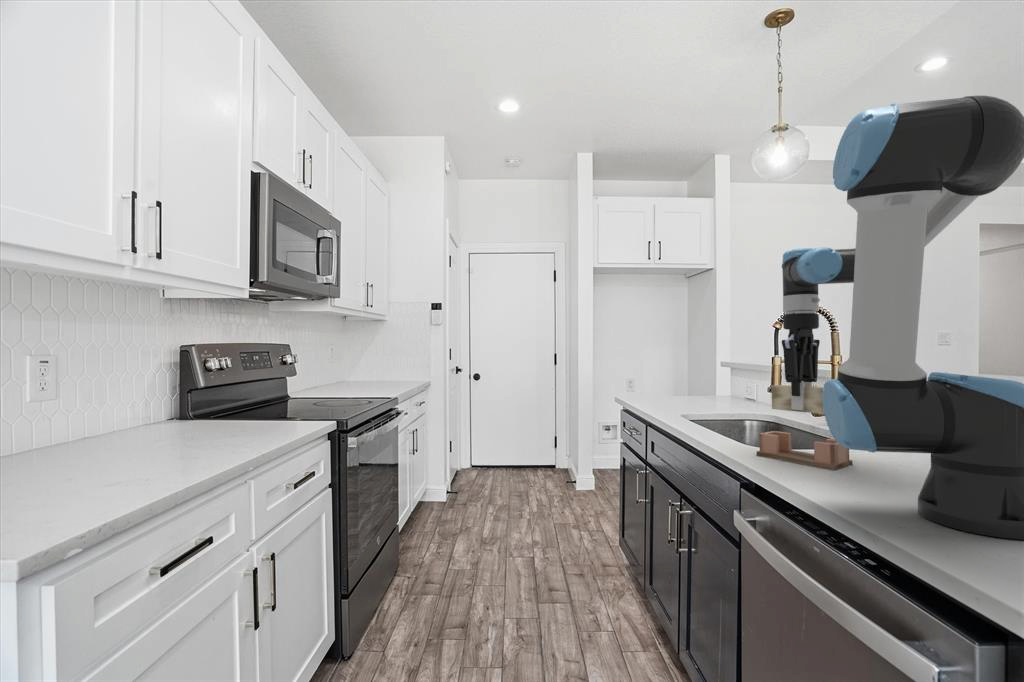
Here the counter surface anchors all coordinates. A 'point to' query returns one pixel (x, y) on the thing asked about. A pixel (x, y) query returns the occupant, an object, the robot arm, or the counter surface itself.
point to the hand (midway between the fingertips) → (802, 408)
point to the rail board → (802, 459)
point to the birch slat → (811, 398)
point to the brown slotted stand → (822, 451)
